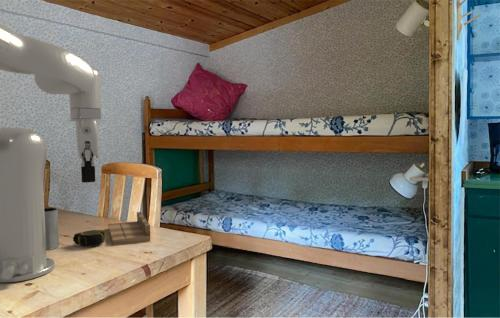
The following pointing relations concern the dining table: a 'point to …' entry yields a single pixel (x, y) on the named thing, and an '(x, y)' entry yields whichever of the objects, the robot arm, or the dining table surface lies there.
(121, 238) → the brown wooden tray
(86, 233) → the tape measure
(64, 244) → the dining table surface
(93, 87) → the robot arm
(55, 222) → the planter
